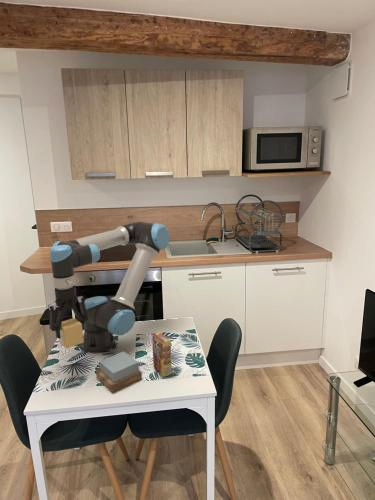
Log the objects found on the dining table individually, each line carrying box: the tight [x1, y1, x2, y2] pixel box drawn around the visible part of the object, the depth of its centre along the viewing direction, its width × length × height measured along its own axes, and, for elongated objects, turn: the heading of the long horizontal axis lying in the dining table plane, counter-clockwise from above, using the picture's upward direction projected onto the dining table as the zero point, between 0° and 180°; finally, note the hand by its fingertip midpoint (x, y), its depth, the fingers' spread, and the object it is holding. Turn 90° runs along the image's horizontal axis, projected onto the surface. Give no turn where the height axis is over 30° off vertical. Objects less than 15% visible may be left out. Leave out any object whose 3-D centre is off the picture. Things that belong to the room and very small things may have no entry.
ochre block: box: [60, 317, 84, 349], centre depth 138 cm, size 7×7×8 cm
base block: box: [95, 368, 143, 394], centre depth 140 cm, size 13×13×4 cm
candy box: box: [151, 331, 172, 378], centre depth 144 cm, size 9×4×15 cm, turn 32°
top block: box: [99, 351, 140, 383], centre depth 140 cm, size 11×11×4 cm
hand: (71, 341), depth 139 cm, fingers closed on ochre block, 7 cm apart
